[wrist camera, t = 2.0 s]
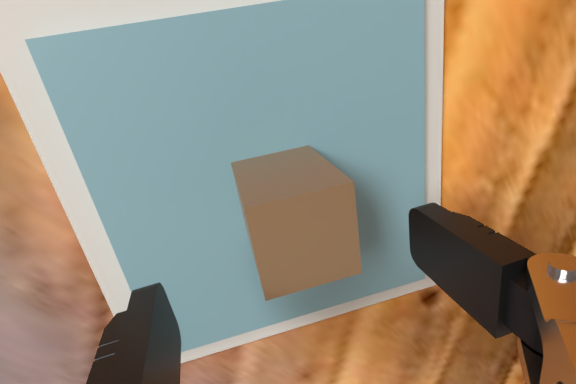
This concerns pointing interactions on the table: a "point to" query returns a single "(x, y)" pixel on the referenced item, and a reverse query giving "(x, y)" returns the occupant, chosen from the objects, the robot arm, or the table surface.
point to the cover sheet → (251, 153)
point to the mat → (66, 174)
